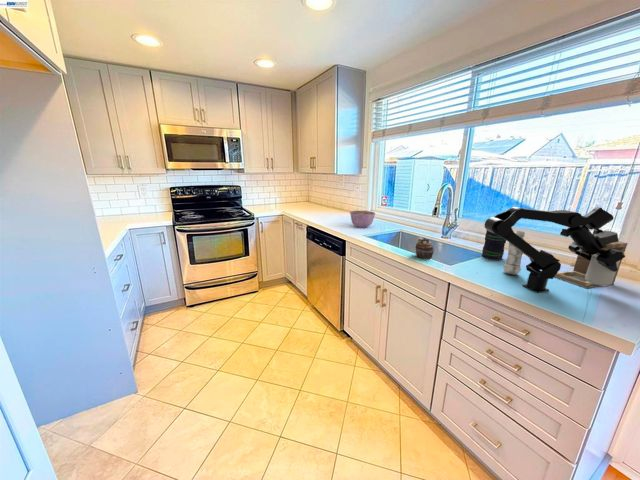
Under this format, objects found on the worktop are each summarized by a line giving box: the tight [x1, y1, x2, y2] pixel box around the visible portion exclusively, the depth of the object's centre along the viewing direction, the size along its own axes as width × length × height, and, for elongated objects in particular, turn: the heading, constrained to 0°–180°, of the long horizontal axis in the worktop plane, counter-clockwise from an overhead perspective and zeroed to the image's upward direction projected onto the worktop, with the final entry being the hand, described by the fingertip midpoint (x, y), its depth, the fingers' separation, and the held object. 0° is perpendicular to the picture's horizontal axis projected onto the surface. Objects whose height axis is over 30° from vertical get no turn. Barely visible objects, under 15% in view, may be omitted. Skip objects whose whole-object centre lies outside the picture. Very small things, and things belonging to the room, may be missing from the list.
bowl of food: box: [349, 210, 376, 229], centre depth 214 cm, size 20×20×12 cm
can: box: [585, 254, 620, 287], centre depth 103 cm, size 8×8×12 cm
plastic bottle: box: [502, 230, 525, 276], centre depth 121 cm, size 6×7×20 cm
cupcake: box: [415, 237, 435, 260], centre depth 144 cm, size 10×10×10 cm
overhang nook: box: [554, 241, 628, 289], centre depth 116 cm, size 17×14×18 cm
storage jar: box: [481, 230, 507, 261], centre depth 145 cm, size 10×10×15 cm
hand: (606, 267), depth 103 cm, fingers closed on can, 7 cm apart
